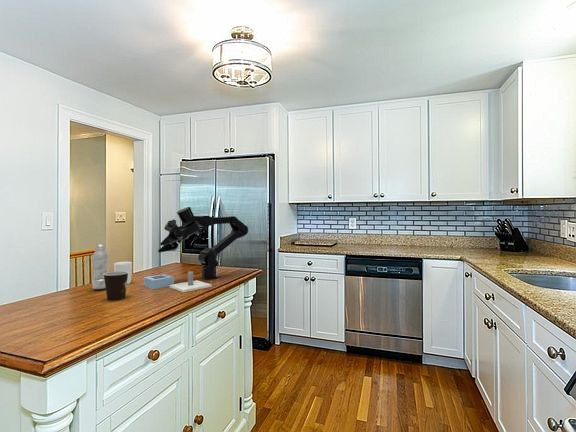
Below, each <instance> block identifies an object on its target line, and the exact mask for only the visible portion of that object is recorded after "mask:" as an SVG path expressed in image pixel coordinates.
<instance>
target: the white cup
mask: <svg viewBox="0 0 576 432" xmlns="http://www.w3.org/2000/svg"><path fill="white" fill-rule="evenodd" d="M132 268H133V262H132V261H119V262H118V261H117V262H114V263H113V272H118V271H125V272H128V278H127V285H129V284H131V282H132V274H133V273H132V270H133V269H132Z"/></svg>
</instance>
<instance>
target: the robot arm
mask: <svg viewBox="0 0 576 432" xmlns="http://www.w3.org/2000/svg"><path fill="white" fill-rule="evenodd" d="M176 214H177V216H178V218H179V219H180V220H179V221H180V222H181V223H182V224H185V225H180V226H178V223H177V220H176V219H171V220H168V221H167V223H166V224H165V225H164V227H163V228H164V230H165V231H167V232H168V235H167V236H166V237H165V238H164V239H163V240H162V241H161V242H160V243H159V245H160V246H161V247H160V248H159V249H158V250H157V252H158V253H165V252H175V251H177V250H178V249H179V245H180V244H181V243H182V242H183V241H185V240H188V239H189V237H190V236H192V235H193V234H197V235H198V234H199V235H201V234H202V230H203V229H202V228H208V227H210V226H211V227H212V226H213V225H223V224H229V225H230V228H231V231H230V233H229V234H228V235H226V236H225V237H224V238H222V239H221V240H220V241H219V242H217V243H216V244H215V245H214V246H213V247H205V248H204V249H203V250H201V251H200V252H199V254H198V258H197V260H198V262H199V263H200V265H201V266H202V269H201V277H200V278H201V279H204V280H212V279H218V278H219V276H217V267H218V266H219V262H218V260H217V258H218V255H219V254H221V252H222V251H224V250H225V249H227V247H229V246H230V245H231V244H232V243H234V242H235V241H236V240H237V239H241V238H244V237H245V236H246V235H248V233H249V227H248V226H247V224H246V225H245V223H243V222H242V221H241V220H240V219H238V217H236V216H235V215H232V216H231V215H230V216H210V215H209V216H208V215H195V214H194V213H193V210H192V208H191V207H190V206H187V207H184V208H182V209H179V210H177V212H176ZM200 227H201V228H200Z"/></svg>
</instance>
